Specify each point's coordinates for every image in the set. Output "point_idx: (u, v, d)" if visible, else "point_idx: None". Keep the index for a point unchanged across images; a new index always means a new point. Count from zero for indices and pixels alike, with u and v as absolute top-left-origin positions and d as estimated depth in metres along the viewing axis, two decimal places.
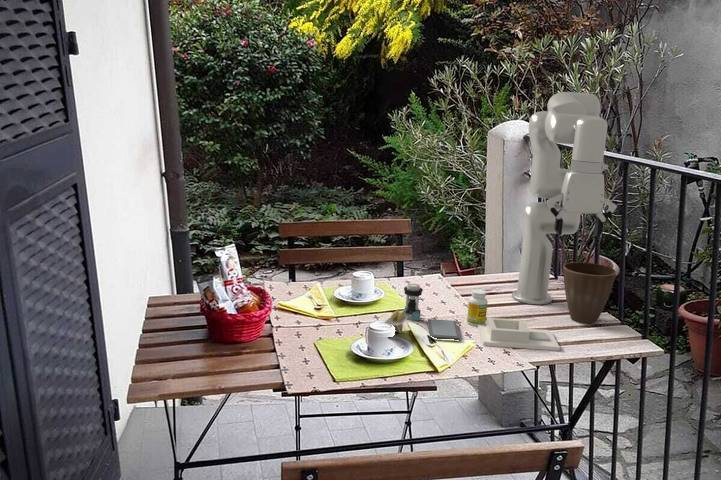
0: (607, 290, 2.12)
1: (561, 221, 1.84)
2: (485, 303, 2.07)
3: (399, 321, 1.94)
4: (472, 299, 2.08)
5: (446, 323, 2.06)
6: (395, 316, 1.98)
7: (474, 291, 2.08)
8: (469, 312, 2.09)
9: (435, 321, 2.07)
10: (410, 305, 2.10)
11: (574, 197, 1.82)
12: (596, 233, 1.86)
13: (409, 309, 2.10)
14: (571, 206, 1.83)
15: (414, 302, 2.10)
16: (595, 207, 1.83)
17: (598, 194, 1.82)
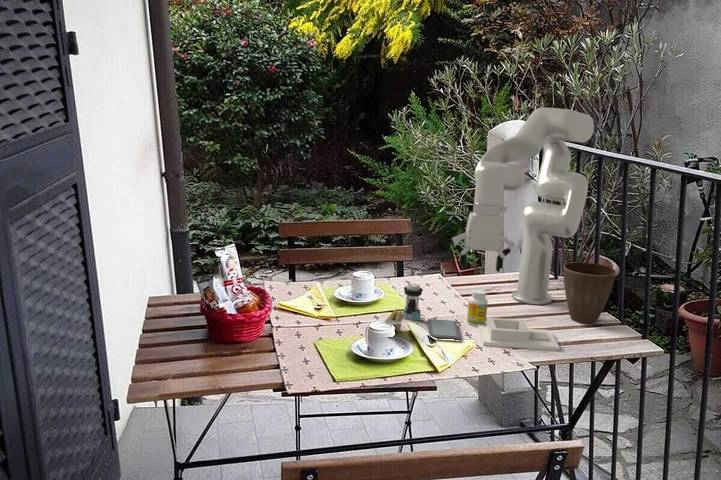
0: (607, 290, 2.12)
1: (465, 257, 2.05)
2: (485, 303, 2.07)
3: (398, 320, 1.95)
4: (472, 299, 2.08)
5: (446, 323, 2.06)
6: (393, 315, 1.98)
7: (474, 291, 2.08)
8: (469, 312, 2.09)
9: (435, 321, 2.07)
10: (410, 305, 2.10)
11: (476, 236, 2.03)
12: (496, 268, 2.06)
13: (409, 309, 2.10)
14: (473, 244, 2.03)
15: (414, 302, 2.10)
16: (494, 245, 2.03)
17: (497, 233, 2.02)
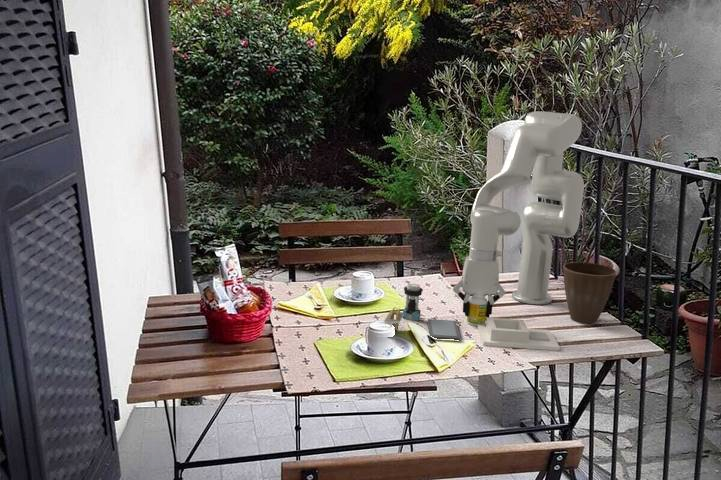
0: (607, 290, 2.12)
1: (467, 305, 2.08)
2: (485, 303, 2.07)
3: (398, 319, 1.96)
4: (472, 299, 2.08)
5: (446, 323, 2.06)
6: (392, 314, 1.99)
7: None
8: (469, 312, 2.09)
9: (435, 321, 2.07)
10: (410, 305, 2.10)
11: (472, 281, 2.06)
12: (486, 314, 2.09)
13: (409, 309, 2.10)
14: (469, 288, 2.06)
15: (414, 302, 2.10)
16: (490, 289, 2.06)
17: (493, 278, 2.05)
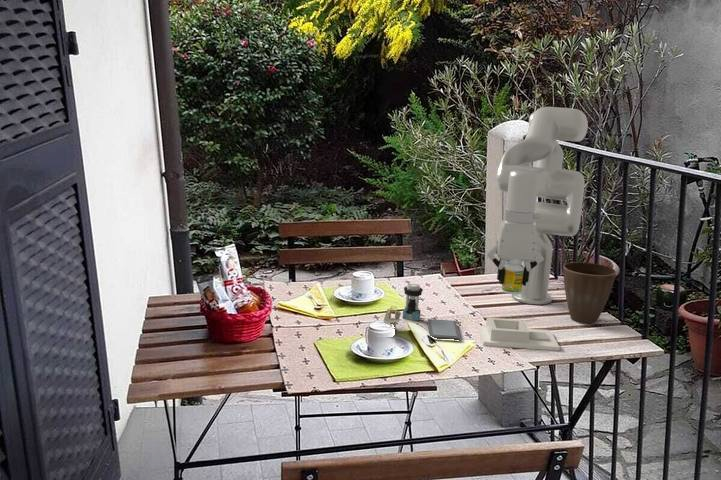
0: (607, 290, 2.12)
1: (503, 271, 1.94)
2: (522, 270, 1.94)
3: (396, 318, 1.97)
4: (508, 265, 1.94)
5: (446, 323, 2.06)
6: None
7: None
8: (504, 279, 1.95)
9: (435, 321, 2.07)
10: (410, 305, 2.10)
11: (508, 245, 1.92)
12: None
13: (409, 309, 2.10)
14: (505, 253, 1.92)
15: (414, 302, 2.10)
16: (528, 254, 1.92)
17: (530, 242, 1.91)
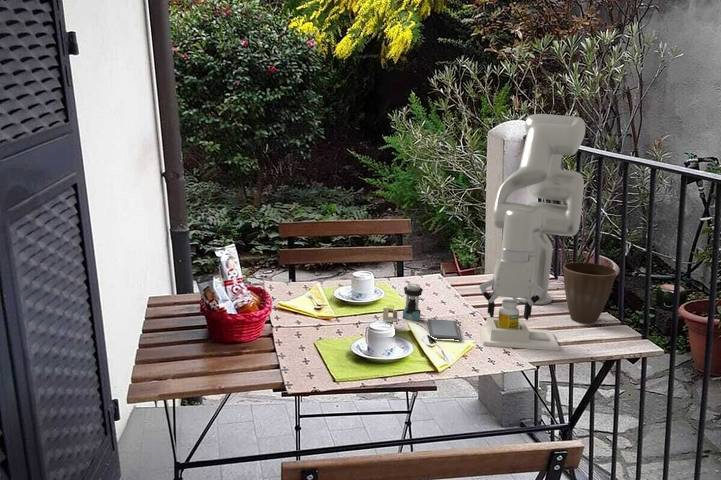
0: (607, 290, 2.12)
1: (493, 305, 1.96)
2: (516, 313, 1.96)
3: (395, 316, 1.98)
4: (503, 309, 1.97)
5: (446, 323, 2.06)
6: (387, 312, 2.01)
7: (505, 301, 1.98)
8: (500, 323, 1.98)
9: (435, 321, 2.07)
10: (410, 305, 2.10)
11: (504, 283, 1.94)
12: (525, 316, 1.97)
13: (409, 309, 2.10)
14: (501, 291, 1.95)
15: (414, 302, 2.10)
16: (524, 292, 1.95)
17: (526, 280, 1.94)
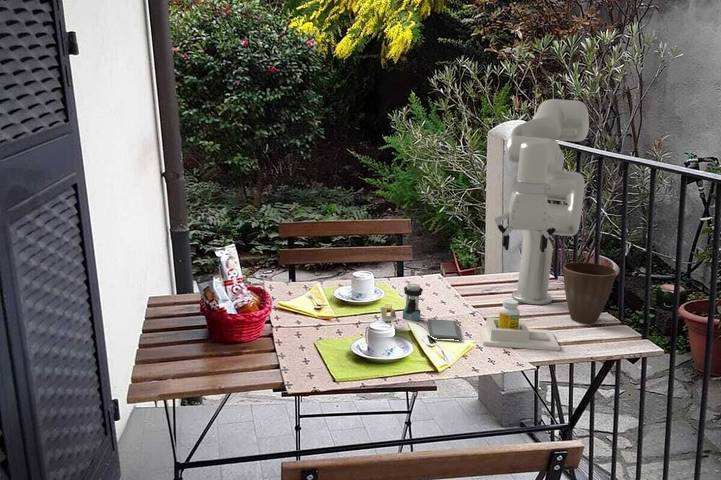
0: (607, 290, 2.12)
1: (508, 238, 1.97)
2: (517, 313, 1.96)
3: (393, 316, 1.98)
4: (503, 309, 1.97)
5: (446, 323, 2.06)
6: (385, 311, 2.01)
7: (505, 301, 1.98)
8: (500, 323, 1.98)
9: (435, 321, 2.07)
10: (410, 305, 2.10)
11: (519, 216, 1.95)
12: (541, 248, 1.99)
13: (409, 309, 2.10)
14: (516, 224, 1.96)
15: (414, 302, 2.10)
16: (539, 225, 1.95)
17: (541, 213, 1.94)
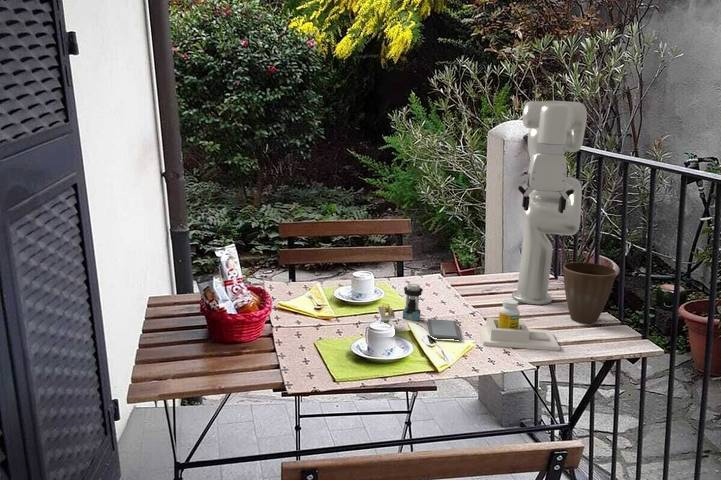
0: (607, 290, 2.12)
1: (528, 198, 2.04)
2: (517, 314, 1.96)
3: (392, 315, 1.99)
4: (503, 309, 1.97)
5: (446, 323, 2.06)
6: (383, 310, 2.02)
7: (505, 301, 1.98)
8: (500, 323, 1.98)
9: (435, 321, 2.07)
10: (410, 305, 2.10)
11: (539, 177, 2.01)
12: (560, 209, 2.05)
13: (409, 309, 2.10)
14: (536, 184, 2.02)
15: (414, 302, 2.10)
16: (558, 185, 2.02)
17: (561, 173, 2.01)
